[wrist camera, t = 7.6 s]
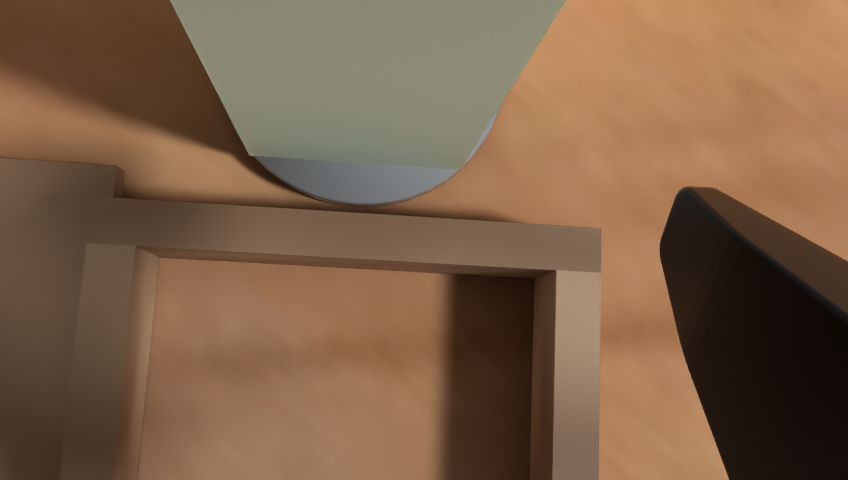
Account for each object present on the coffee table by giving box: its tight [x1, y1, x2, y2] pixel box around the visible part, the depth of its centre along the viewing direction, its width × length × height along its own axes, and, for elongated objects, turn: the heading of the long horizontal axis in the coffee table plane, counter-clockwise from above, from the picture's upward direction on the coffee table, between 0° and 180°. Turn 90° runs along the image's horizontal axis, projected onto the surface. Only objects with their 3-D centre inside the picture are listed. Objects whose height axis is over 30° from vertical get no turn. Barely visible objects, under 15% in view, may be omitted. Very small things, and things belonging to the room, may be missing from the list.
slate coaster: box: [226, 107, 500, 207], centre depth 19 cm, size 7×7×1 cm
